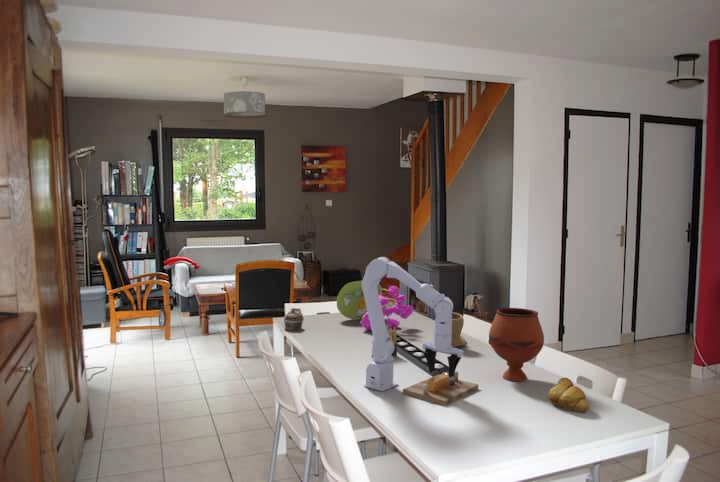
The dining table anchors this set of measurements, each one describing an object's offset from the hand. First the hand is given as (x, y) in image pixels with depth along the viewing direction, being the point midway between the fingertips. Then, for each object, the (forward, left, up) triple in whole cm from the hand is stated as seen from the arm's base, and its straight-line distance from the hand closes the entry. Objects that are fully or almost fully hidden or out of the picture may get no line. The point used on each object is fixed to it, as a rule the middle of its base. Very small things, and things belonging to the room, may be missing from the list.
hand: (441, 373), depth 188 cm
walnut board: (0, 0, -6) cm, 6 cm away
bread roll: (+15, -37, -6) cm, 41 cm away
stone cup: (+55, +28, -6) cm, 62 cm away
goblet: (+31, -12, -6) cm, 34 cm away
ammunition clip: (+21, +40, -6) cm, 46 cm away
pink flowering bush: (+64, +78, -6) cm, 102 cm away
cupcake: (+29, +102, -6) cm, 107 cm away
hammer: (0, 0, -4) cm, 4 cm away
